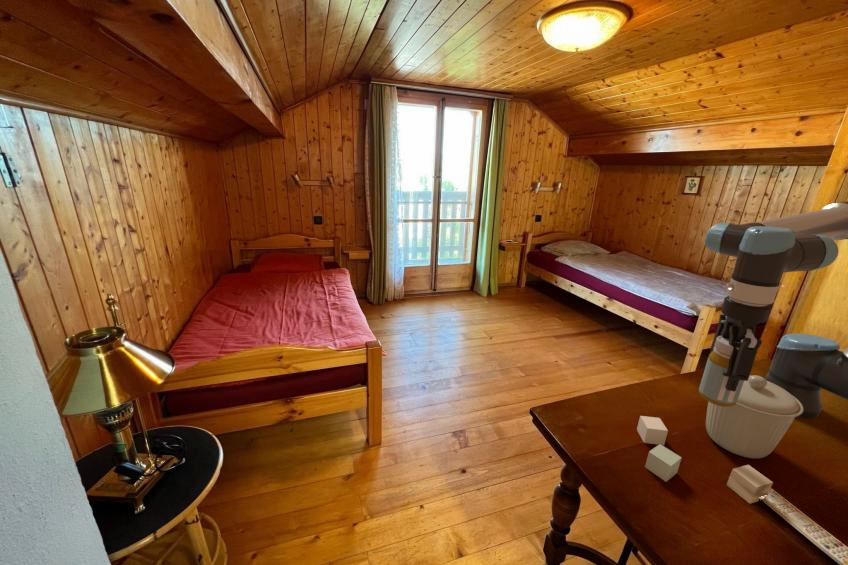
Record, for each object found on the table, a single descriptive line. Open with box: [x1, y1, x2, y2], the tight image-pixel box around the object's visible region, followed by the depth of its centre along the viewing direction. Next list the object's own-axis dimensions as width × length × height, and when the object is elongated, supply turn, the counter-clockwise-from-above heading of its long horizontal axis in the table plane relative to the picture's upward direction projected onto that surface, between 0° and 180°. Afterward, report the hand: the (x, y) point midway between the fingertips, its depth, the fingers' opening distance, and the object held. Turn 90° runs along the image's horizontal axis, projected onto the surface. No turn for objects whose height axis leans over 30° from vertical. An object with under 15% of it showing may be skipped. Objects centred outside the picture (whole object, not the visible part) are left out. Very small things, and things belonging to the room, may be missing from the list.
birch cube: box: [726, 464, 774, 504], centre depth 81 cm, size 5×5×5 cm
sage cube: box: [644, 444, 682, 483], centre depth 86 cm, size 5×5×5 cm
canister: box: [705, 374, 803, 460], centre depth 92 cm, size 18×18×21 cm
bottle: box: [698, 336, 744, 407], centre depth 80 cm, size 7×7×15 cm
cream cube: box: [636, 415, 669, 446], centre depth 97 cm, size 5×5×5 cm
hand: (718, 391), depth 82 cm, fingers closed on bottle, 6 cm apart
